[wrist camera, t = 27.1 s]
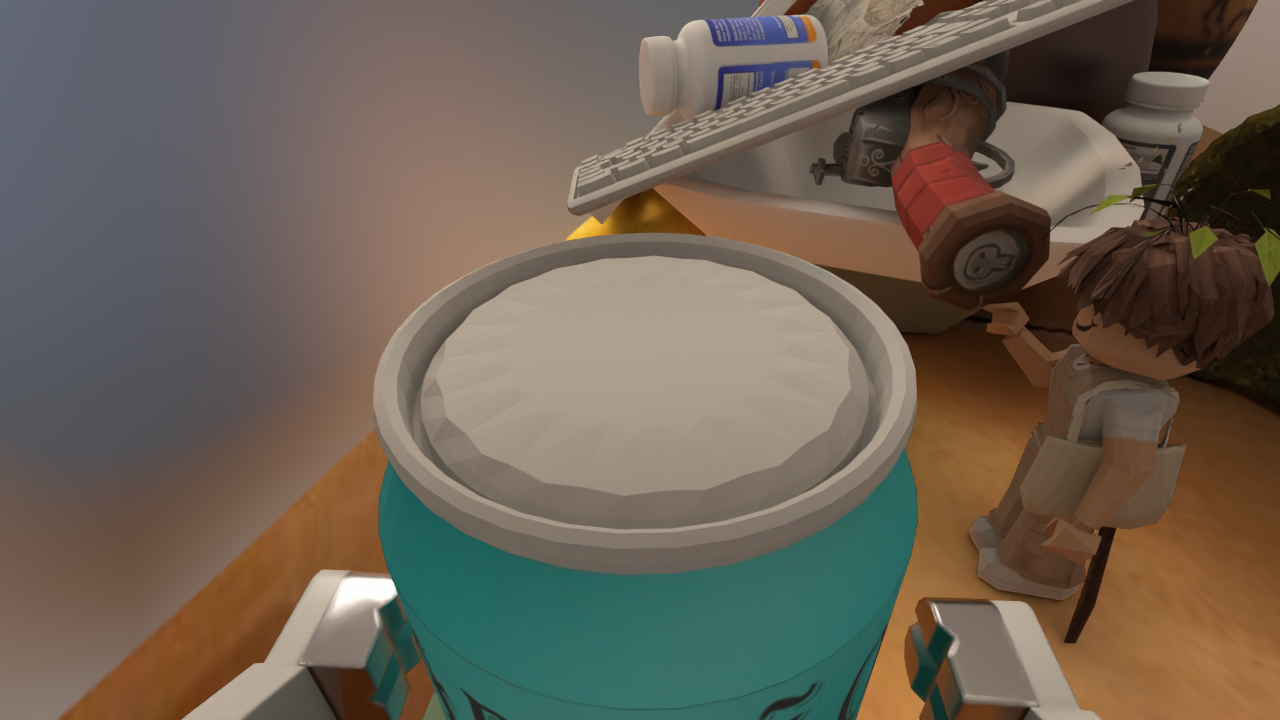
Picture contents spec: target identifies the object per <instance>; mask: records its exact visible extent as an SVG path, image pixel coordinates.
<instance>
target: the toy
mask: <svg viewBox="0 0 1280 720" xmlns="http://www.w3.org/2000/svg"><path fill="white" fill-rule="evenodd" d="M1181 125H1182V123H1181V124H1180V123H1179V124H1178V125H1177V126H1178V127H1177V128H1178V133H1179V134H1180V132H1181V130H1182V128H1181V129H1180V127H1181ZM1179 129H1180V130H1179ZM1171 137H1172V136H1171ZM1171 137H1170V138H1169V139H1167V140H1166V141H1165V142H1166V143H1168V144H1169V141H1170V139H1171ZM1154 142H1155V141H1154ZM1155 145H1156V144H1155ZM1158 147H1159V146H1158ZM1158 147H1157V148H1155V149H1154V152H1155V153H1156V151H1157V149H1158ZM1145 151H1146V150H1145ZM1142 159H1143V157H1142V158H1141V159H1140V160H1139V162H1142ZM1151 162H1155V163H1158V164H1160V165H1162V158H1161V154H1159V155H1158V156H1157V157H1156V158H1154V159H1153V160H1152V161H1151ZM1144 163H1145V162H1144ZM1149 163H1150V162H1149ZM1138 164H1139V163H1138ZM1132 165H1133V164H1132V162H1130V163H1128V164H1126V165H1124V166H1131V167H1132ZM1140 165H1141V164H1140ZM1135 166H1136V165H1135ZM1177 166H1178V165H1177ZM1161 167H1162V166H1161ZM1188 167H1189V166H1188ZM1126 168H1127V167H1126ZM1126 168H1119V169H1126ZM1163 172H1164V171H1163ZM1165 172H1166V174H1167V173H1168V169H1166V170H1165ZM1193 172H1194V171H1193ZM1193 172H1192V174H1193ZM1164 174H1165V173H1164ZM1176 176H1177V175H1176ZM1165 177H1166V175H1165ZM1158 179H1159V178H1158ZM1166 179H1167V178H1166ZM1196 180H1197V179H1196ZM1167 182H1168V180H1167ZM1161 185H1169V187H1170V185H1171V184H1169V182H1168V184H1153V185H1148V186H1143V187H1138V188H1133V192H1132V195H1108V196H1107V197H1106V198H1105V199H1104V200H1103V201H1102V202H1101V203H1100V204H1097V205H1092V208H1093V207H1096V206H1097V207H1096V208H1095V209H1094V210H1093V211H1092V212H1091V213H1090V214H1089V215H1091V214H1093V213H1096V212H1098V211H1100V210H1102V209H1105V208H1107V207H1109V206H1112V205H1117V204H1116V203H1118V202H1120V201H1122V200H1124V199H1126V198H1131V199H1130V202H1129V203H1131V202H1132V201H1134V200H1135V199H1143V200H1146V201H1150V202H1153V203H1157V204H1160V205H1163V206H1167V207H1169V208H1174V209H1177V212H1178V217H1171V218H1167V217H1165V216H1164V215H1162V214H1160V213H1158V212H1157V211H1155V210H1153V209H1152V208H1150V207H1146V206H1142V207H1144V208H1150V209H1151V210H1153V211H1154V212H1155V213H1157V214H1158V215H1160V217H1158V218H1155V219H1152V220H1149V221H1145V220H1134V222H1133V224H1132V225H1131V227H1130V226H1127V227H1125V228H1122V227H1111V228H1110V229H1109V230H1107V231H1106V232H1105V233H1103V234H1102V235H1101V236H1099V237H1097V238H1095V239H1093V240H1091V241H1089V242H1087V243H1085V244H1083V245H1081V246H1079V247H1077V248H1076V249H1074V250H1072V251H1070V252H1068V253H1067V254H1066V255H1067V256H1066V257H1065V258H1064V259H1063V260H1062V261H1061V262H1060V263H1059V264H1058V265H1060V264H1061V263H1063V262H1065V261H1067V260H1068V259H1070V258H1072V257H1074V256H1078V257H1077V258H1075V259H1074V260H1073V261H1071V262H1070V263H1069V264H1067V265H1066V266H1065V267H1063V268H1062V269H1061V271H1060V272H1059V273H1058V275H1057V276H1056V278H1066V277H1069V279H1068V280H1066V281H1069V282H1068V287H1069V286H1070V284H1071V283H1072V286H1073V289H1074V288H1075V287H1076V286H1077V287H1076V290H1075V293H1074V295H1073V296H1075V295H1077V294H1078V293H1079V292H1080V291H1081V294H1080V298H1079V301H1078V306H1077V310H1076V312H1077V311H1079V310H1080V312H1079V313H1078V315H1077V317H1076V319H1075V321H1074V323H1073V331H1072V334H1073V336H1074V337H1075V338H1076V339H1077V340H1078V342H1079V343H1080V344H1071V345H1070V346H1069V348H1068V349H1067V350H1063V351H1059V352H1055V353H1051V352H1050V351H1049V350H1048V349H1047V348H1046V347H1045V346H1044V345H1043V344H1042V343H1041V342H1040V341H1039V340H1038V339H1037V338H1035V337H1034V336H1033V335H1032V334H1031V333H1030V332H1029V331H1028V330H1027V329H1026V328H1025V327H1024V325H1025V324H1026V323H1027V322H1028V320H1029V319H1030V318H1029V317H1028V316H1027V314H1026V313H1025V311H1024V310H1023V308H1022V307H1021V305H1020V304H1019V302H1014V303H996V304H987V305H985V306H984V307H982V309H984V310H987V311H989V312H991V313H993V316H992V323H987V329H986V332H989V333H993V334H1004V335H1007V336H1006V337H1005V338H1004V339H1003V340H1002V342H1003V344H1004V345H1005V347H1006V348H1007V349H1008V351H1009V352H1010V354H1011V355H1012V356H1013V358H1014V359H1015V361H1016V362H1017V363H1018V365H1019V366H1020V368H1021V369H1022V371H1023V372H1024V373H1025V375H1026V376H1027V378H1028V379H1029V380H1030V382H1031V383H1032V385H1033V386H1034V387H1038V388H1048V389H1049V394H1048V400H1047V407H1046V413H1045V420H1044V423H1038V424H1037V426H1036V427H1035V428H1034V430H1033V431H1032V432H1031V434H1032V436H1033V438H1031V439H1029V441H1028V443H1027V446H1026V448H1025V450H1024V453H1023V455H1022V458H1021V460H1020V462H1019V465H1018V467H1017V470H1016V472H1015V474H1014V477H1013V479H1012V482H1011V484H1010V486H1009V488H1008V490H1007V491H1006V493H1005V495H1004V497H1003V498H1002V500H1001V502H1000V504H999V506H998V507H997V508H995V509H993V510H991V511H990V513H989V515H988V516H982V517H977V518H976V520H975V521H974V523H973V525H972V526H971V528H970V529H969V531H968V534H969V536H970V537H971V539H972V541H973V542H974V544H975V546H976V547H977V549H978V551H979V563H978V573H977V576H978V577H980V578H981V579H982V580H984V581H985V582H987V583H988V584H990V585H991V586H993V587H994V588H996V589H998V590H1004V591H1010V592H1016V593H1021V594H1027V595H1033V596H1038V597H1044V598H1050V599H1056V600H1061V601H1062V600H1064V599H1066V598H1067V597H1069V596H1071V595H1073V594H1074V593H1076V592H1077V591H1078V589H1079V587H1080V585H1081V583H1082V582H1084V581H1085V583H1084V586H1083V589H1082V592H1081V595H1080V598H1079V600H1078V603H1077V606H1076V609H1075V612H1074V615H1073V618H1072V621H1071V624H1070V627H1069V630H1068V632H1067V635H1066V638H1065V641H1064V643H1076V641H1077V639H1078V637H1079V635H1080V633H1081V631H1082V629H1083V627H1084V626H1085V624H1086V622H1087V620H1088V618H1089V616H1090V614H1091V612H1092V610H1093V608H1094V606H1095V602H1096V599H1097V595H1098V592H1099V588H1100V584H1101V581H1102V577H1103V574H1104V570H1105V567H1106V563H1107V559H1108V556H1109V552H1110V549H1111V545H1112V542H1113V538H1114V534H1115V531H1116V528H1120V529H1133V528H1138V527H1142V526H1147V525H1151V524H1156V523H1158V521H1159V520H1160V518H1161V517H1162V515H1163V514H1164V513H1165V511H1166V510H1167V508H1168V507H1169V505H1170V504H1171V500H1172V497H1173V493H1174V489H1175V486H1176V482H1177V478H1178V475H1179V471H1180V467H1181V464H1182V460H1183V456H1184V453H1185V449H1186V444H1167V442H1168V438H1169V434H1170V430H1171V425H1172V421H1173V419H1174V416H1175V413H1176V411H1177V408H1178V405H1179V403H1180V401H1179V394H1178V391H1175V388H1173V387H1170V386H1169V379H1174V378H1177V377H1180V376H1183V375H1186V374H1189V373H1192V372H1194V371H1197V370H1200V369H1205V367H1206V366H1207V364H1208V363H1209V361H1210V360H1211V361H1212V360H1213V358H1214V357H1215V356H1217V358H1218V361H1219V360H1220V359H1221V357H1222V359H1221V362H1222V361H1223V359H1224V358H1225V357H1226V356H1227V355H1228V353H1229V352H1230V351H1231V350H1232V349H1234V348H1236V346H1237V345H1238V346H1237V348H1238V347H1239V345H1240V344H1241V343H1242V341H1243V340H1244V341H1245V340H1247V339H1248V338H1249V337H1251V336H1252V335H1253V334H1255V333H1256V332H1257V331H1259V330H1260V329H1261V328H1263V327H1264V326H1265V325H1267V324H1268V323H1269V322H1271V320H1272V318H1273V316H1274V313H1275V311H1274V306H1273V297H1272V291H1271V286H1270V285H1271V284H1272V282H1273V281H1274V279H1275V277H1276V276H1277V274H1278V273H1279V271H1280V240H1279V239H1280V236H1279V235H1278V234H1277V233H1276V232H1275V231H1274V230H1271V229H1269V228H1265V227H1264V226H1263V225H1262V223H1261V222H1260V221H1259V219H1258V218H1257V217H1256V215H1255V214H1254V213H1253V212H1250V211H1249V213H1252V214H1253V215H1254V217H1255V218H1256V219H1257V221H1258V222H1259V223H1260V224H1261V226H1262V227H1259V226H1254V227H1259V228H1263V229H1264V230H1265V233H1264V234H1263V235H1262V236H1261V237H1260V238H1259V240H1255V239H1252V238H1250V236H1249V235H1248V234H1242V233H1241V232H1240V231H1239V232H1240V233H1241V234H1240V235H1233V234H1231V233H1229V226H1230V223H1229V220H1230V221H1231V219H1230V218H1229V217H1232V216H1233V215H1231V214H1230V213H1228V212H1226V211H1225V210H1223V209H1221V208H1219V207H1220V206H1221V205H1222V204H1223V203H1224V202H1225V201H1226V200H1227V199H1228V198H1229V197H1230V196H1231V195H1233V194H1231V195H1230V196H1229V197H1228V198H1227V199H1226V200H1225V201H1224V202H1223V203H1222V204H1221V205H1220V206H1219V207H1218V208H1216V207H1213V206H1212V207H1213V209H1212V210H1214V209H1216V210H1217V209H1218V210H1221V211H1222V212H1224V214H1225V216H1226V217H1224V219H1225V218H1227V231H1226V230H1225V229H1211V226H1213V225H1214V224H1215V223H1216V222H1218V221H1219V220H1220V219H1222V218H1219V219H1218V220H1217V221H1216V222H1215V223H1213V224H1212V225H1211V226H1210V225H1209V224H1208V219H1209V218H1210V216H1211V215H1212V214H1213V213H1214V212H1215V211H1216V210H1215V211H1214V212H1213V213H1212V214H1211V215H1210V216H1207V217H1206V218H1205V219H1204V217H1205V216H1206V214H1207V213H1208V212H1210V211H1212V210H1210V211H1208V212H1207V213H1206V214H1205V215H1204V216H1203V218H1202V219H1201V220H1200V221H1199V223H1194V222H1189V221H1188V219H1187V217H1186V201H1185V200H1184V199H1183V197H1184V196H1183V197H1181V195H1180V194H1179V193H1178V192H1179V190H1180V189H1178V190H1175V188H1174V187H1173V186H1172V185H1171V186H1172V187H1173V188H1174V190H1175V191H1172V189H1171V187H1170V189H1171V192H1169V193H1171V194H1173V196H1174V194H1175V195H1177V194H1179V196H1180V197H1181V198H1180V200H1182V199H1183V201H1184V202H1185V209H1184V211H1183V213H1184V216H1183V214H1182V211H1181V209H1180V207H1179V205H1178V202H1177V200H1176V198H1175V196H1174V199H1175V201H1176V202H1171V201H1165V200H1158V199H1151V198H1144V197H1140V196H1142V195H1143V194H1144V195H1146V194H1145V193H1146V192H1148V191H1149V190H1151V189H1152V188H1154V187H1156V186H1161ZM1175 186H1176V185H1175ZM1192 189H1193V188H1192ZM1190 190H1191V189H1189V190H1188V191H1190ZM1248 191H1251V190H1250V189H1249V190H1248ZM1252 191H1254V192H1256V193H1258V194H1260V195H1262V196H1264V197H1266V198H1268V199H1270V200H1271V198H1270V190H1252ZM1244 192H1247V191H1244ZM1240 193H1242V192H1240ZM1235 194H1238V193H1235ZM1176 197H1177V196H1176ZM1177 199H1178V198H1177ZM1277 200H1280V198H1279V199H1277ZM1277 200H1275V201H1277ZM1178 201H1179V200H1178ZM1275 201H1272V202H1275ZM1272 202H1270V203H1272ZM1270 203H1268V204H1270ZM1126 204H1127V203H1121V204H1118V205H1126ZM1179 204H1180V203H1179ZM1133 205H1137V204H1133ZM1265 205H1267V204H1265ZM1265 205H1263V206H1265ZM1138 206H1141V205H1138ZM1180 206H1181V205H1180ZM1210 206H1211V205H1210ZM1090 207H1091V206H1088V208H1090ZM1132 207H1136V206H1132ZM1159 207H1160V206H1159ZM1261 207H1262V206H1261ZM1181 208H1182V207H1181ZM1258 208H1260V207H1258ZM1084 209H1087V207H1085V208H1083V209H1081V210H1084ZM1090 209H1091V208H1090ZM1256 209H1257V208H1256ZM1081 210H1078V211H1076V212H1073V213H1072V215H1073V214H1075V213H1077V212H1079V211H1081ZM1182 210H1183V209H1182ZM1254 210H1255V209H1254ZM1251 211H1253V210H1251ZM1247 213H1248V212H1247ZM1247 213H1244V214H1247ZM1228 214H1229V215H1231V216H1229V215H1228ZM1069 215H1070V216H1071V214H1069ZM1069 215H1067V216H1068V217H1069ZM1089 215H1088V216H1089ZM1239 215H1243V214H1239ZM1067 216H1065V217H1064V218H1063V219H1062V220H1060V221H1059V222H1058V224H1057V225H1059V224H1060V223H1062V222H1063V221H1064V220H1065V218H1067ZM1228 216H1229V217H1228ZM1234 216H1237V215H1234ZM1234 216H1233V217H1234ZM1237 217H1238V216H1237ZM1234 218H1236V217H1234ZM1203 219H1204V221H1203V222H1202V220H1203ZM1236 219H1238V218H1236ZM1176 220H1177V221H1179V222H1177V221H1176ZM1186 220H1187V222H1186ZM1238 220H1239V219H1238ZM1221 221H1222V220H1221ZM1240 221H1241V220H1240ZM1201 222H1202V223H1201ZM1231 222H1232V221H1231ZM1242 222H1243V221H1242ZM1232 224H1233V225H1234V226H1235V224H1234V223H1233V222H1232ZM1055 225H1056V224H1055ZM1055 225H1054V226H1055ZM1057 225H1056V226H1057ZM1242 225H1243V224H1242ZM1245 225H1247V224H1245ZM1056 226H1055V227H1056ZM1239 226H1240V225H1239ZM1249 226H1253V225H1249ZM1055 227H1054V228H1055ZM1235 227H1236V228H1237V226H1235ZM1054 228H1052V229H1051V228H1050V229H1051V230H1050V231H1049V232H1048V233H1047V234H1046V236H1045V237H1044V239H1045V238H1046V237H1047V235H1048V234H1049V233H1050V232H1051V231H1052V230H1053V229H1054ZM1233 228H1234V227H1233ZM1230 229H1231V226H1230ZM1237 229H1238V228H1237ZM1266 229H1268V230H1270V231H1271V232H1272V233H1273V234H1274V235H1276V236H1277V237H1278V238H1279V239H1277V238H1276V237H1275V236H1274V235H1273V234H1271V233H1270V232H1269V231H1267V230H1266ZM1238 230H1239V229H1238ZM1231 232H1232V230H1231ZM1044 239H1043V241H1044ZM1252 240H1255V241H1257V242H1256V243H1252ZM1043 241H1042V242H1043ZM1041 244H1042V243H1041ZM1039 247H1040V246H1039ZM1256 250H1257V253H1258V256H1259V257H1258V256H1257V253H1256ZM1058 265H1057V266H1058ZM1066 281H1065V282H1066ZM1068 287H1067V288H1068ZM1244 341H1243V342H1244ZM1211 361H1210V362H1211ZM1221 362H1220V363H1221ZM1168 421H1169V422H1168ZM1167 422H1168V425H1167V428H1166V431H1165V433H1164V436H1163V439H1162V441H1161V444H1158V440H1159V433H1160V429H1161V428H1162V427H1163V426H1164V425H1165V424H1166V423H1167ZM1094 529H1096V530H1099V529H1100V530H1099V533H1098V535H1096V534H1094V533H1092V532H1093V531H1094ZM1090 557H1092V559H1091V562H1090V566H1089V570H1088V573H1087V577H1086V570H1085V560H1087V559H1089V558H1090Z"/></svg>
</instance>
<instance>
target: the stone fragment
mask: <svg viewBox="0 0 1280 720" xmlns="http://www.w3.org/2000/svg"><path fill="white" fill-rule="evenodd" d="M921 5H925V3H924V2H923V1H922V0H816V1H815V3H813V4H812V5H811V6H810V7H809V10H807V11H806V12H804V14H803V13H801V14H800V15H811V16H814V17H815V18H816V19H818V21H819V22H820V23H821V25H822V27H823V29H824V32H825V35H826V40H827V48H828V66H830V65H831V62H832V61H835V60H838V59H840V58H842V57H845V56H847V55H853V56H855V52H856V51H859V50H862V49H865V48H867V47H869V46H871V45H878V46H879V42H882V41H885V40H888V39H890V38H892V37H893V36H892V35H893V34H894V33H895V30H898V28H899V27H901V25H902V24H903V23H904V22H905V21H906V20H907V19H908V18H910V14H909V13H910V12H912V9H914V8H917V7H919V6H921ZM894 35H895V34H894Z"/></svg>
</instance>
